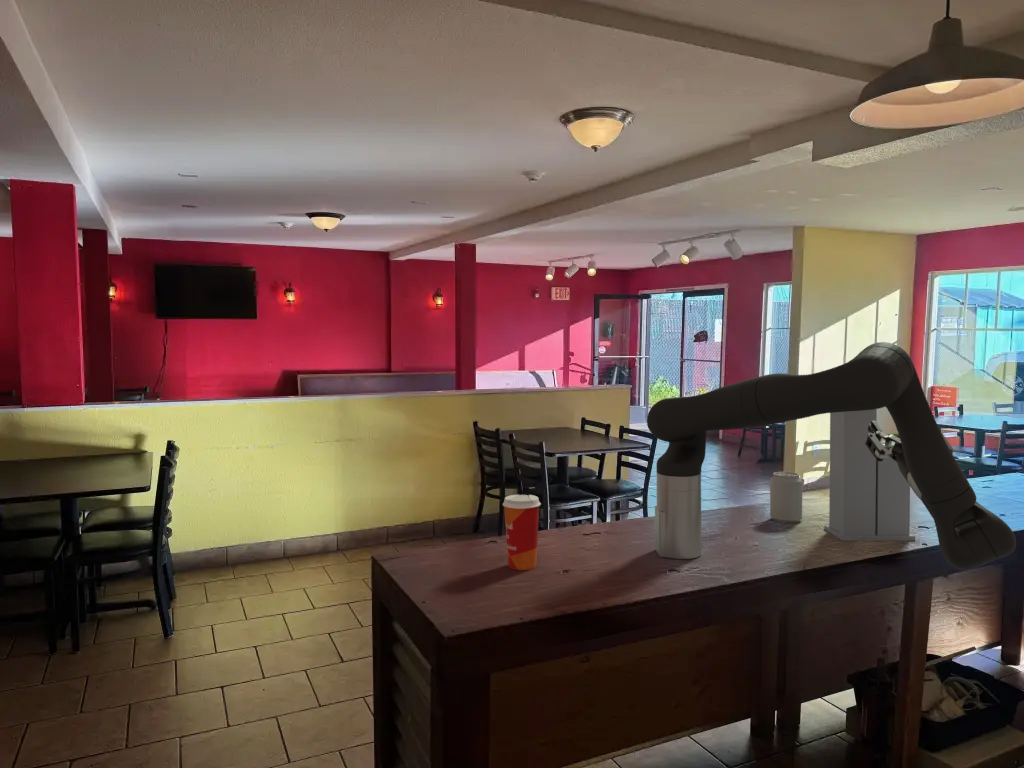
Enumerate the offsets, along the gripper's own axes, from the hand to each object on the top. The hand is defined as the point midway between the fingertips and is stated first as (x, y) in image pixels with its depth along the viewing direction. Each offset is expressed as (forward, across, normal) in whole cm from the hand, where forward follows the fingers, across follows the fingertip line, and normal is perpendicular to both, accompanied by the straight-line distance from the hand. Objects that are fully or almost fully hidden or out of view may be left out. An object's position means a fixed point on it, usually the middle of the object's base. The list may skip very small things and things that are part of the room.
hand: (893, 424), depth 143 cm
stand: (+3, -4, +33) cm, 34 cm away
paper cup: (-18, +75, +22) cm, 80 cm away
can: (+15, +10, +41) cm, 44 cm away
